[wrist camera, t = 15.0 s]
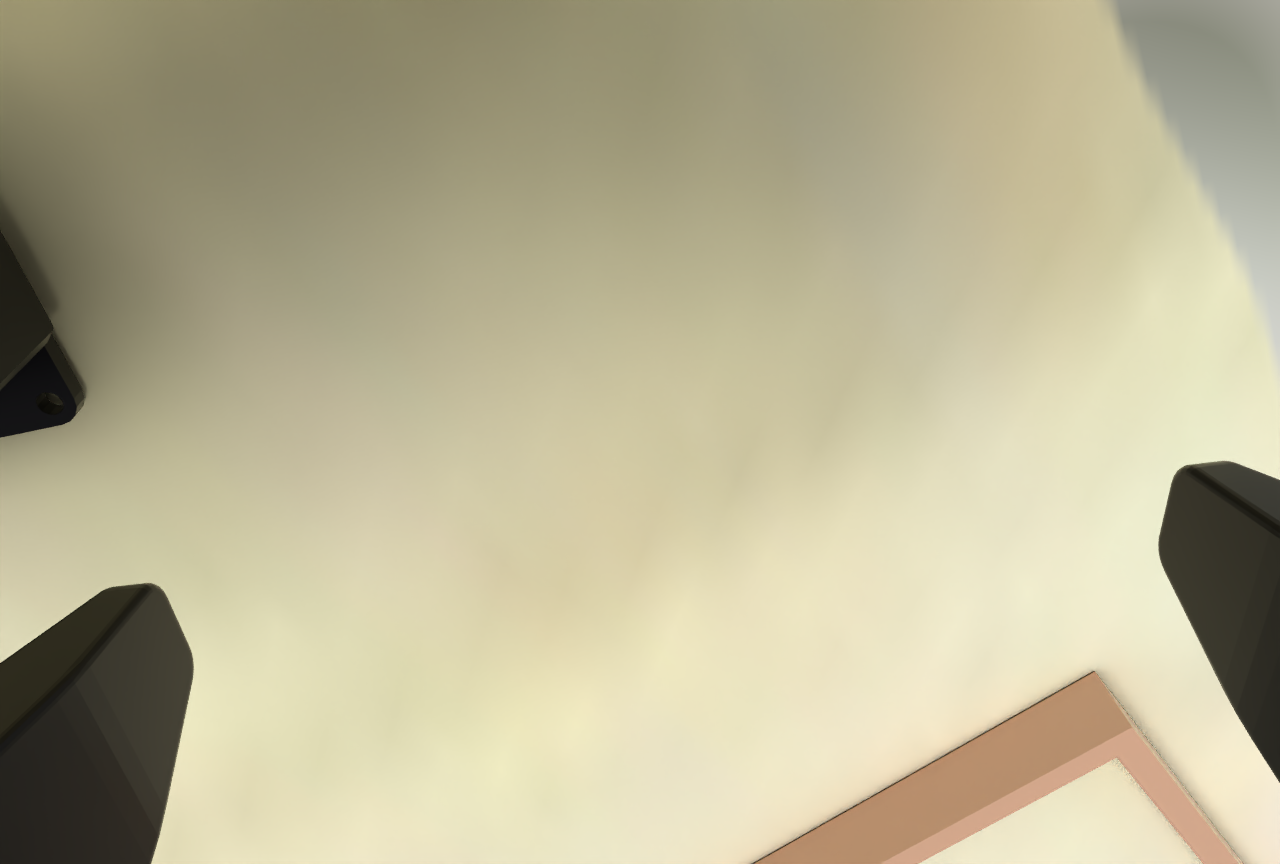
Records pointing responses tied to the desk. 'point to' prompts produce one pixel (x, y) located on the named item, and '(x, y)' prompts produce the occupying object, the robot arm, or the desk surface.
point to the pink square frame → (1007, 786)
